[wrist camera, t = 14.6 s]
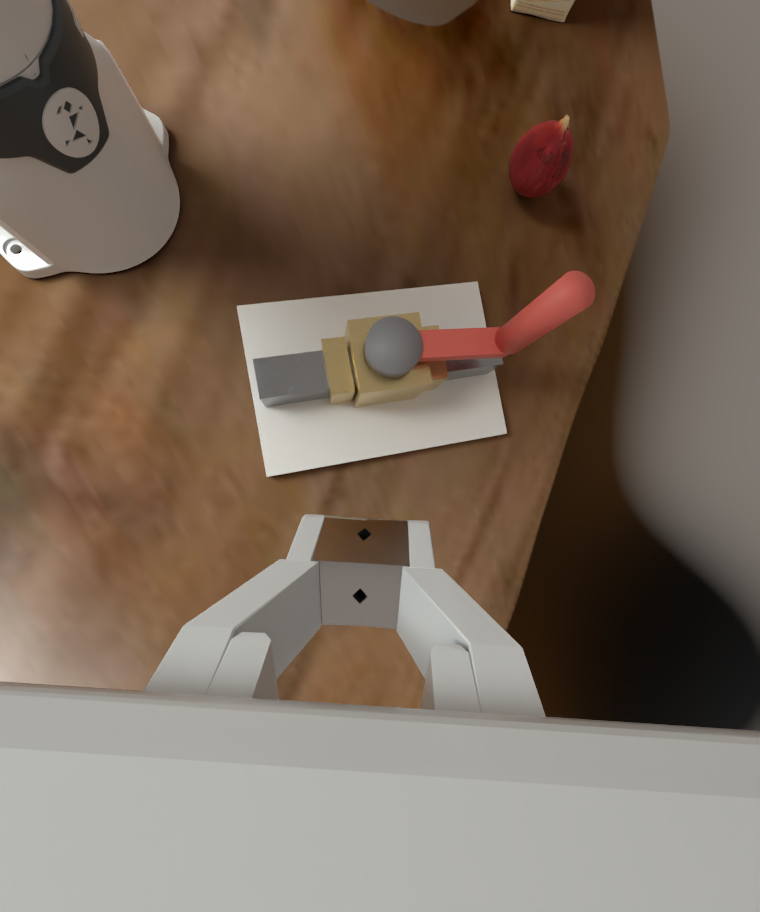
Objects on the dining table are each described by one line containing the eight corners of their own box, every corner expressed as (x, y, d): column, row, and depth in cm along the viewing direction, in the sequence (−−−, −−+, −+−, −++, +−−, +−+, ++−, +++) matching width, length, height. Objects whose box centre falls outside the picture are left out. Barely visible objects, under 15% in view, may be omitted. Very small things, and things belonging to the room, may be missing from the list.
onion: (551, 208, 41) (606, 144, 33) (507, 220, 40) (553, 157, 32) (532, 159, 41) (583, 84, 33) (488, 171, 40) (529, 96, 32)
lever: (366, 379, 29) (388, 333, 20) (361, 324, 29) (380, 254, 20) (517, 370, 31) (599, 325, 22) (511, 319, 31) (590, 254, 22)
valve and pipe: (270, 423, 35) (257, 409, 28) (259, 361, 35) (243, 331, 28) (483, 389, 38) (520, 369, 31) (472, 334, 39) (507, 301, 31)
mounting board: (268, 476, 34) (266, 476, 33) (239, 311, 35) (236, 305, 34) (501, 434, 38) (507, 433, 37) (472, 287, 39) (477, 281, 38)
